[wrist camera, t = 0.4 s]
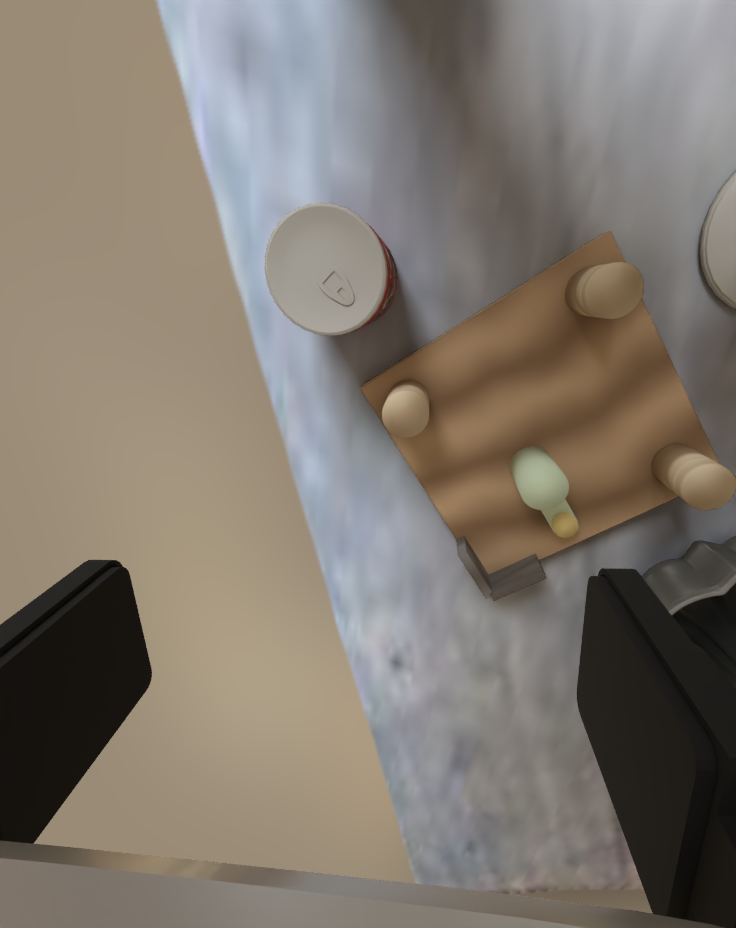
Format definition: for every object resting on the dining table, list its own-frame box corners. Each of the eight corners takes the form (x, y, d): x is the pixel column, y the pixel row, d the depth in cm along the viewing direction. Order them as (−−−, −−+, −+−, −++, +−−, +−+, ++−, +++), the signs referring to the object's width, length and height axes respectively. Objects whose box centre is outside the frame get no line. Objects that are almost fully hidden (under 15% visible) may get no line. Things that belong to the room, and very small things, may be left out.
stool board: (363, 384, 43) (350, 401, 36) (601, 234, 37) (641, 220, 30) (483, 573, 48) (492, 621, 41) (711, 467, 42) (768, 502, 35)
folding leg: (585, 518, 42) (607, 551, 37) (547, 536, 43) (564, 570, 38) (538, 436, 40) (555, 458, 35) (500, 456, 41) (511, 480, 36)
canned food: (369, 343, 42) (349, 359, 32) (289, 294, 41) (242, 293, 31) (416, 260, 39) (411, 248, 29) (331, 206, 39) (296, 174, 28)
